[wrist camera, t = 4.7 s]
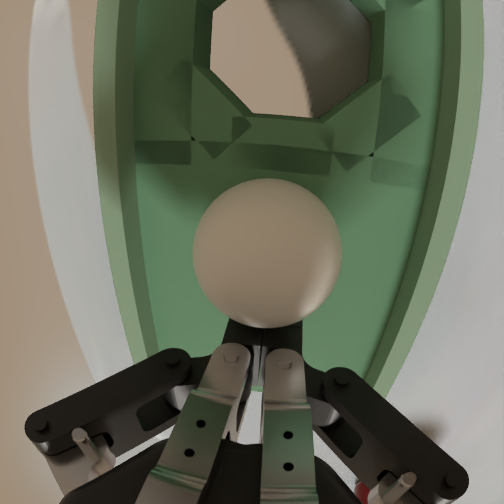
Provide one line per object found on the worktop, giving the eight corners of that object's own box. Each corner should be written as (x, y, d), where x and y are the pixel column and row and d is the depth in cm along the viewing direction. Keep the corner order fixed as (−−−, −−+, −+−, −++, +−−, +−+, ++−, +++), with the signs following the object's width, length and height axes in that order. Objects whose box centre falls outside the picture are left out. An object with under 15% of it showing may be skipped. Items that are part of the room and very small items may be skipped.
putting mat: (151, -61, 9) (108, -94, 5) (438, -43, 8) (477, -74, 4) (162, 346, 21) (138, 395, 17) (366, 370, 20) (374, 424, 16)
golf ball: (264, 153, 13) (244, 137, 8) (358, 233, 13) (391, 264, 8) (191, 246, 14) (138, 280, 9) (280, 318, 14) (269, 385, 9)
